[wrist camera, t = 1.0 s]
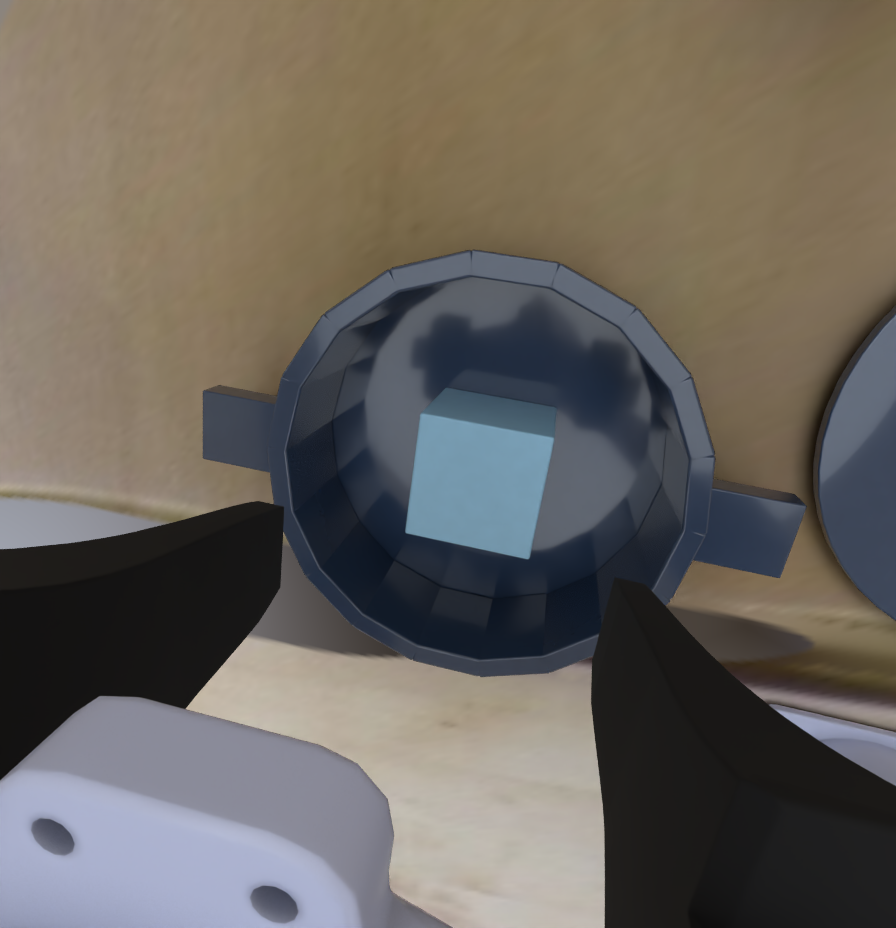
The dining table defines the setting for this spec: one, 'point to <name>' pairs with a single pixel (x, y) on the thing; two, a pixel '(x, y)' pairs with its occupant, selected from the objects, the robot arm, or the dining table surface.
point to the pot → (568, 479)
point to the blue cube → (480, 471)
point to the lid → (862, 468)
